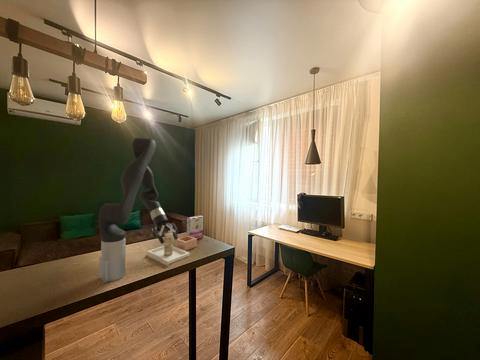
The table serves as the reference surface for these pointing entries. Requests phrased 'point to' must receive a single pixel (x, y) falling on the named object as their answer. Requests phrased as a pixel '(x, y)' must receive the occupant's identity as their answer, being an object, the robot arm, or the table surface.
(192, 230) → the candy bar box
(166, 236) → the birch dowel
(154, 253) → the tray
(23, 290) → the table surface
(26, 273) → the table surface
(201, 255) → the table surface
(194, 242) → the pink square box
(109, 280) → the robot arm
